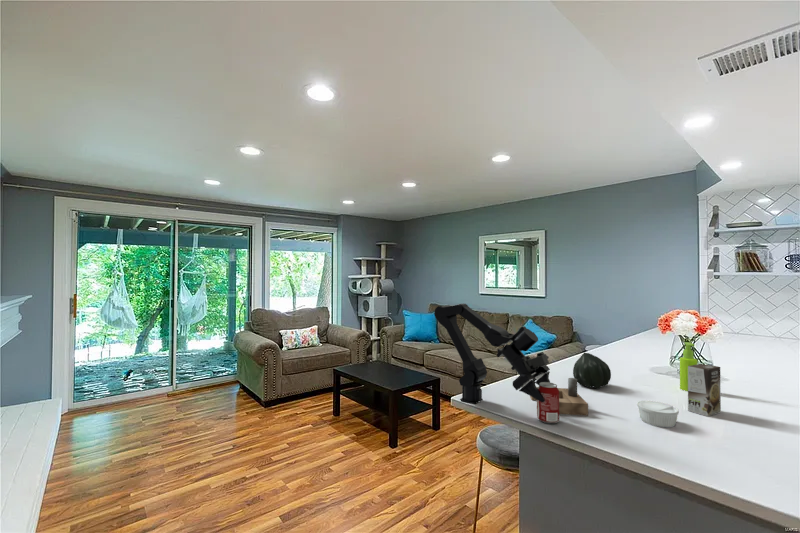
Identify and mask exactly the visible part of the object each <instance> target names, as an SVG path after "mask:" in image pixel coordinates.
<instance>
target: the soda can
mask: <svg viewBox="0 0 800 533" xmlns="http://www.w3.org/2000/svg"><path fill="white" fill-rule="evenodd" d="M537 387H538V388H537V389H538V390H539V391H540V393H541V394H542V396H543V398H544V399H545V402H543V403H542V402H540V401H539V400H536V414H537V415H536V419H537V420H539V421H540V422H541V423H543V424H548V425H555V424H556V423H558V422H560V414H559V390H558V388H559V387H558V385H557V384H556V383H555V382H551V381H550V382H541V383H539V385H538V386H537Z"/></svg>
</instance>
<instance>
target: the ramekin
mask: <svg viewBox="0 0 800 533" xmlns="http://www.w3.org/2000/svg"><path fill="white" fill-rule="evenodd" d="M636 405H637V409H638V413H639V418H640V419H641V420H642V421H643V423H645V424H648V425H650V426H653V427H654V426H655V427H658V428H673V427H675V425H676V424H677V419H678V415H679V412H680V411H679V409H678V408H677V407H676V406H674V405H671V404H668V403H665V402H661V401H656V400H655V401H654V400H640V401H637V404H636Z"/></svg>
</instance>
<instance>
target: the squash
mask: <svg viewBox="0 0 800 533" xmlns="http://www.w3.org/2000/svg"><path fill="white" fill-rule="evenodd" d="M611 371H612V370H611V368H610V366H609V365H608V364H607V363H606V361H604V360H602V359H601V358H600V357H598V356H596V355H593V354H592V353H589V352H583V353H582V354H581V355H580V357H579V358H578V359H577V360H576V361H575V363H574V364H573V369H572V375H573V378H575V379H577V384H579V385H581V386H583V387H586V388H589V389H592V388H595V389H600V388H601V387H605V386H607V385H608V384H609V382H611V379H612V372H611Z"/></svg>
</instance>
